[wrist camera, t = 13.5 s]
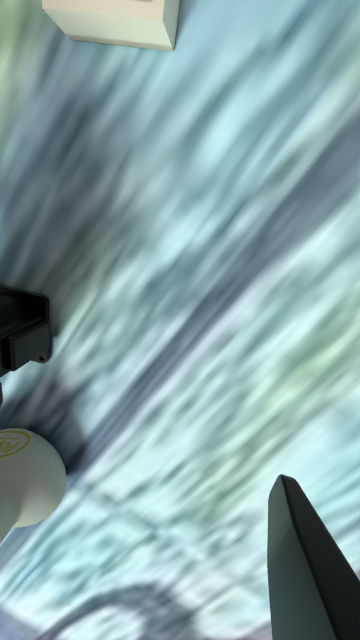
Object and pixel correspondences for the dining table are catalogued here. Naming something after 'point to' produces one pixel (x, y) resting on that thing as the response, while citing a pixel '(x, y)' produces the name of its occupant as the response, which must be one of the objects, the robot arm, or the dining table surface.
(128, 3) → the cream dish
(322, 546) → the robot arm
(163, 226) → the dining table surface
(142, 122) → the dining table surface
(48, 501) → the air freshener
